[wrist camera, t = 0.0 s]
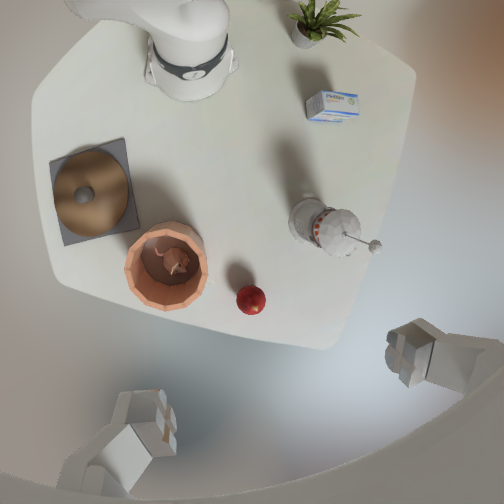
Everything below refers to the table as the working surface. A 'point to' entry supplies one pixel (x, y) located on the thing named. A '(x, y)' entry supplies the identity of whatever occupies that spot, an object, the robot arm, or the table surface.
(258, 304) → the red pomegranate
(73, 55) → the table surface
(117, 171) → the lid
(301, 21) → the house plant
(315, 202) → the french press
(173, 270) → the mouse figurine
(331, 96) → the medicine box
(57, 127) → the table surface
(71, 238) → the mat
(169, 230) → the flower pot
